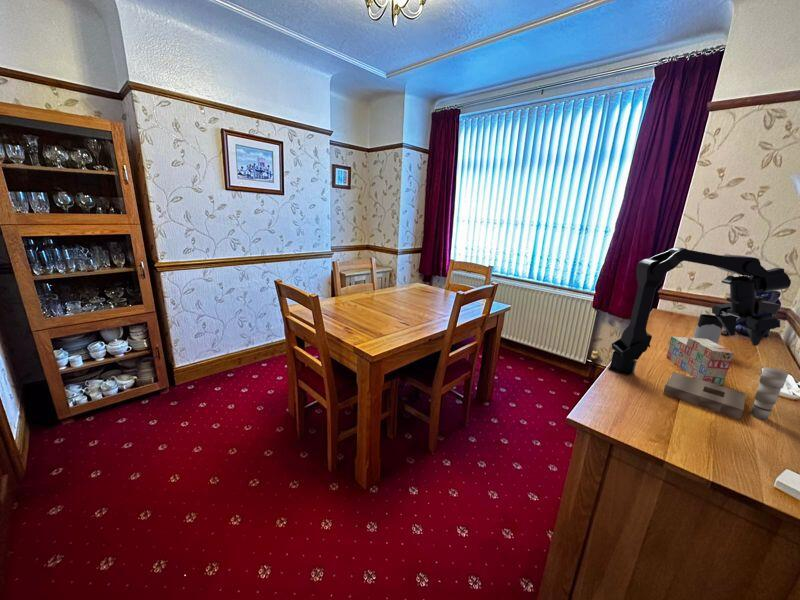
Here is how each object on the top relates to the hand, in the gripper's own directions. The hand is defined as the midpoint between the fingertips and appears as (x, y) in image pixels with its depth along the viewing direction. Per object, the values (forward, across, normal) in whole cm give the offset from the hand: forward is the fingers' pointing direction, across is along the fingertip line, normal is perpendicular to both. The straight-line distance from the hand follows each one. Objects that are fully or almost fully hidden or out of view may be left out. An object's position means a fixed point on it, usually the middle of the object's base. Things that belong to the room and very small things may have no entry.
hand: (743, 340), depth 106 cm
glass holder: (+18, +34, -8) cm, 39 cm away
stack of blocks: (+13, +7, +11) cm, 19 cm away
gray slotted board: (+10, -14, +21) cm, 27 cm away
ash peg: (+13, -22, +12) cm, 28 cm away
